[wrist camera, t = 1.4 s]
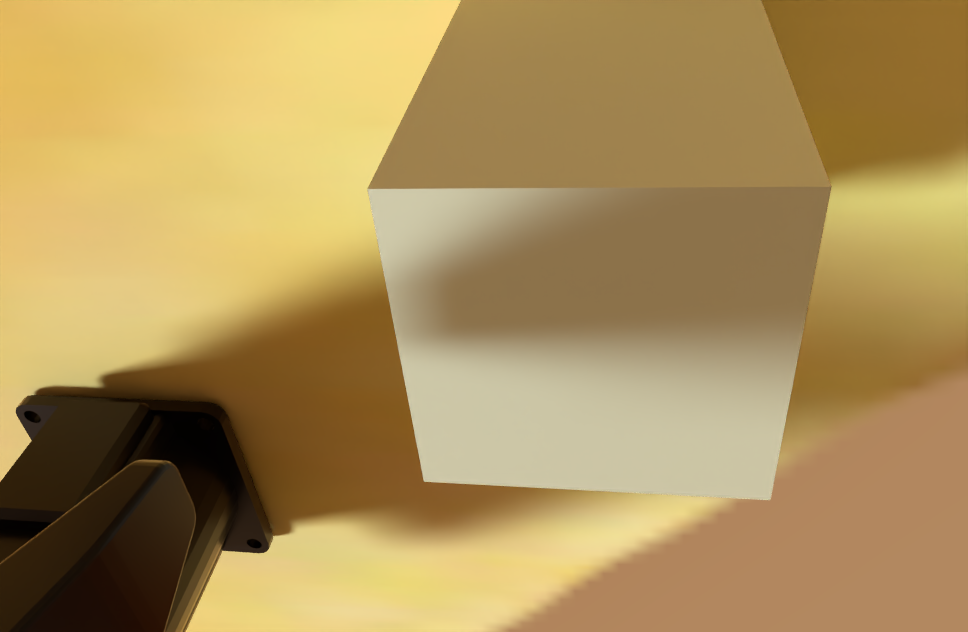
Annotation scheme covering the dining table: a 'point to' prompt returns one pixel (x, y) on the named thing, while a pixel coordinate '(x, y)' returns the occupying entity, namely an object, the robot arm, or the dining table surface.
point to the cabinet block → (602, 246)
